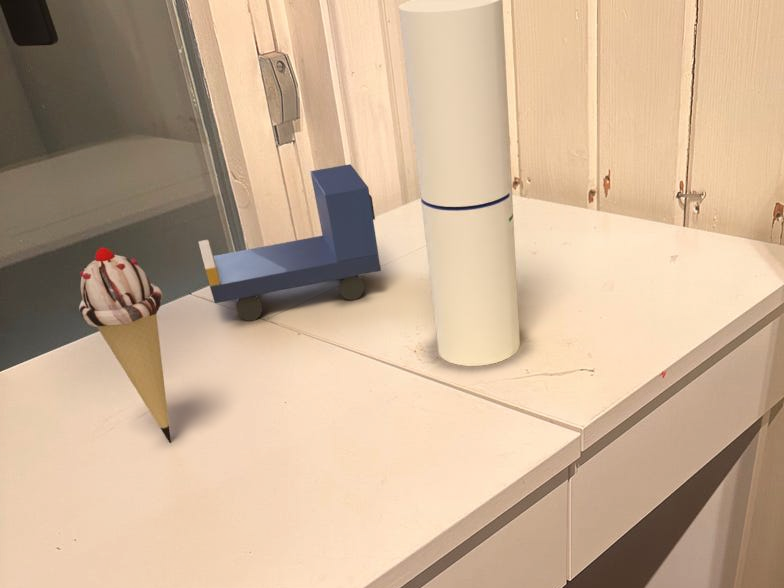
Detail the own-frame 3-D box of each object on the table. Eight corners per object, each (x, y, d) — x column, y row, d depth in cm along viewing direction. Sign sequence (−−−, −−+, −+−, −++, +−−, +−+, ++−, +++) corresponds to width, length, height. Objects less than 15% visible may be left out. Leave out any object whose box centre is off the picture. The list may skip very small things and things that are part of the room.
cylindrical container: (421, 355, 79) (377, 10, 62) (469, 323, 83) (439, -9, 66) (489, 372, 76) (462, 13, 59) (535, 338, 80) (522, -8, 63)
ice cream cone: (220, 428, 72) (161, 233, 62) (181, 466, 69) (111, 266, 58) (160, 421, 74) (92, 230, 64) (118, 458, 70) (39, 261, 60)
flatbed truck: (221, 328, 87) (191, 218, 80) (214, 297, 92) (184, 192, 86) (387, 295, 89) (371, 186, 83) (369, 267, 95) (353, 163, 88)
